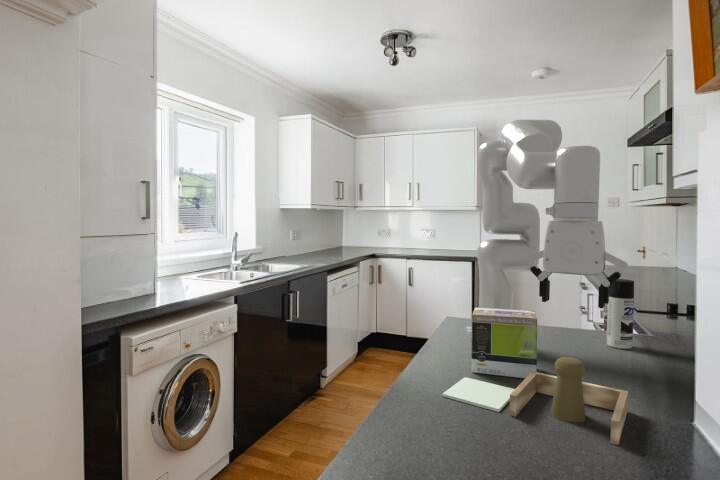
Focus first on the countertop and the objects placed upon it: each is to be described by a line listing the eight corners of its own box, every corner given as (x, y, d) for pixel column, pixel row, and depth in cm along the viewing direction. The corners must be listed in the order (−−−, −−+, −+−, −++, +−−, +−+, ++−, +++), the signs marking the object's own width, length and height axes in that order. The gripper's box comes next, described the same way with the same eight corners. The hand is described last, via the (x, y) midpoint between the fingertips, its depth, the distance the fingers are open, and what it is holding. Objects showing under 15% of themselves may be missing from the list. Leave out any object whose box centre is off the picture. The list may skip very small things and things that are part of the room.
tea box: (534, 367, 109) (536, 310, 108) (536, 381, 99) (538, 318, 99) (473, 360, 114) (474, 305, 113) (470, 373, 104) (471, 313, 104)
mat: (442, 396, 90) (442, 393, 90) (464, 379, 100) (464, 377, 100) (498, 412, 83) (499, 409, 83) (517, 392, 93) (517, 389, 93)
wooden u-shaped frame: (509, 415, 82) (509, 394, 82) (531, 388, 95) (532, 371, 95) (618, 445, 71) (619, 421, 71) (627, 411, 84) (628, 391, 84)
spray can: (622, 350, 124) (625, 282, 123) (600, 344, 130) (603, 278, 129) (637, 348, 126) (640, 280, 125) (615, 342, 132) (618, 277, 131)
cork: (590, 424, 79) (592, 365, 78) (555, 420, 80) (557, 362, 79) (580, 409, 85) (582, 355, 84) (547, 406, 86) (549, 352, 85)
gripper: (522, 213, 82) (519, 301, 83) (627, 212, 72) (624, 313, 73) (532, 214, 88) (530, 296, 89) (631, 213, 78) (628, 306, 79)
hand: (572, 304), depth 81 cm, fingers open, 9 cm apart
